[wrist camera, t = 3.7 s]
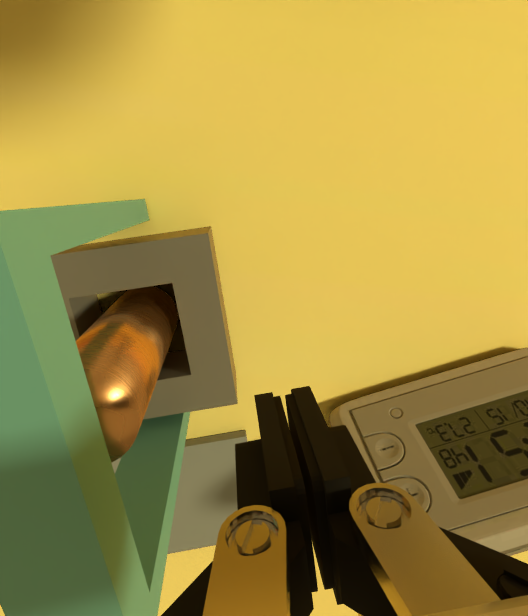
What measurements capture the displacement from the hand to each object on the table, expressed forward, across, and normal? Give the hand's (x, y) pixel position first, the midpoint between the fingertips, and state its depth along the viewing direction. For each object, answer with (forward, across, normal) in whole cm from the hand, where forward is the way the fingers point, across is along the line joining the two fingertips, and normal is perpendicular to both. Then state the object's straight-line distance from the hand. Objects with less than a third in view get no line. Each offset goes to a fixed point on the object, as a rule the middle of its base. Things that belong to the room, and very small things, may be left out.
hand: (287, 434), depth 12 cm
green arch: (+14, +7, 0) cm, 16 cm away
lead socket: (+14, +7, 0) cm, 16 cm away
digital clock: (+15, -12, +10) cm, 21 cm away
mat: (+15, +7, +14) cm, 21 cm away
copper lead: (+15, +7, 0) cm, 16 cm away
